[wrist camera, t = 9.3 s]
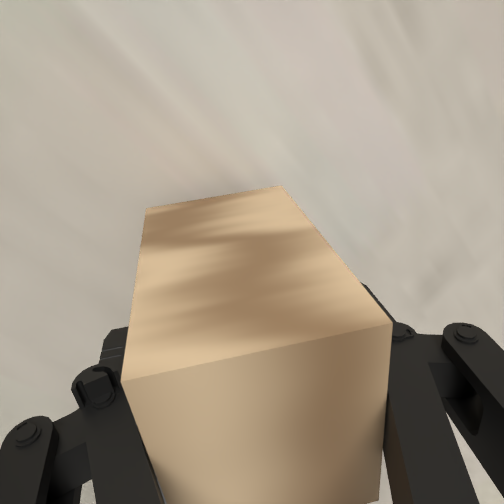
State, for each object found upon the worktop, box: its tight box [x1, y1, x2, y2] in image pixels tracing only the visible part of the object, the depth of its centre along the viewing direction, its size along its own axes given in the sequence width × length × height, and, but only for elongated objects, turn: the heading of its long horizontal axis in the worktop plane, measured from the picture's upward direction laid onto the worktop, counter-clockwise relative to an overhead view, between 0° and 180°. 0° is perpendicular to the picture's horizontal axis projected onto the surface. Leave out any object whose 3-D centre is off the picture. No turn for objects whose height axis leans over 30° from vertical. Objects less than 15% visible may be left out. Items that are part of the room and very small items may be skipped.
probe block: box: [121, 186, 393, 504], centre depth 14 cm, size 6×7×10 cm
